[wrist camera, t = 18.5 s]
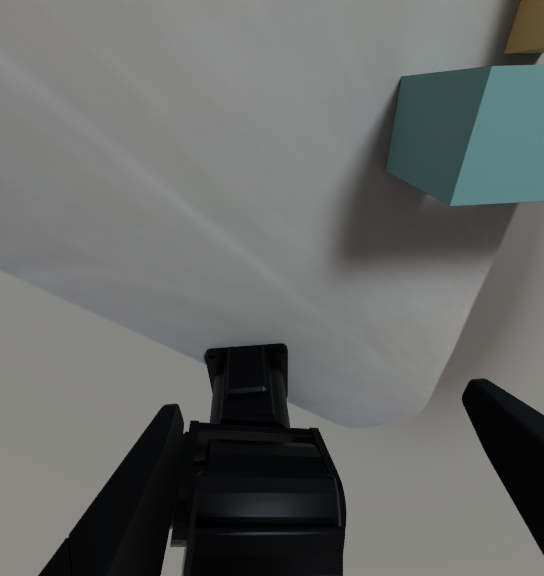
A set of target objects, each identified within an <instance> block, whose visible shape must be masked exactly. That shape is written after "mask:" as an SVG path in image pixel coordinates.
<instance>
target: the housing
mask: <svg viewBox="0 0 544 576" xmlns="http://www.w3.org/2000/svg"><path fill="white" fill-rule="evenodd" d="M386 172H388V173H390V174H392V175H393V176H395V177H397V178H399V179H401V180H403V181H405V182H406V183H408V184H410V185H412V186H414V187H416V188H418V189H419V190H421V191H423V192H425V193H427V194H429V195H430V196H432V197H434V198H436V199H438V200H440V201H442V202H443V203H445V204H447V205H449V206H460V205H479V204H499V203H518V202H537V201H544V65H511V66H488V67H479V68H471V69H462V70H453V71H445V72H436V73H427V74H419V75H410V76H402V78H401V84H400V90H399V95H398V101H397V107H396V113H395V119H394V125H393V130H392V136H391V142H390V148H389V154H388V159H387V165H386Z"/></svg>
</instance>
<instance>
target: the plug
mask: <svg viewBox="0 0 544 576" xmlns="http://www.w3.org/2000/svg"><path fill="white" fill-rule="evenodd" d="M521 53H544V0H521V1H520V4H519V8H518V11H517V14H516V17H515V20H514V24H513V27H512V30H511V33H510V36H509V40H508V43H507V46H506V49H505V52H504V54H521Z"/></svg>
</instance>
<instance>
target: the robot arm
mask: <svg viewBox="0 0 544 576" xmlns="http://www.w3.org/2000/svg"><path fill="white" fill-rule="evenodd" d="M281 349H283V350H281ZM212 355H213V356H212ZM205 359H206V364H207V368H208V373H209V378H210V383H211V388H212V393H213V398H212V408H211V416H210V423H200V422H199V421H191V422H190V428H189V432H185V434H183V429H184V421H183V417H182V414H181V411H180V408H179V405H178V404H167V405H164V406H163V407H162V408H161V409H160V410H159V412H158V413H157V415H156V416H155V417H154V419H153V420H152V421H151V423H150V424H149V426H148V427H147V429H146V430H145V431H144V433H143V434H142V435H141V437H140V438H139V439H138V441H137V442H136V443H135V445H134V446H133V448H132V449H131V450H130V452H129V453H128V454H127V456H126V457H125V458H124V460H123V461H122V463H121V464H120V465H119V467H118V468H117V469H116V471H115V472H114V474H113V475H112V476H111V478H110V479H109V480H108V482H107V483H106V484H105V486H104V487H103V489H102V490H101V491H100V493H99V494H98V495H97V497H96V498H95V500H94V501H93V502H92V504H91V505H90V506H89V508H88V509H87V510H86V512H85V513H84V515H83V516H82V517H81V519H80V520H79V521H78V523H77V524H76V526H75V527H74V528H73V530H72V531H71V532H70V534H69V538H66V539H65V540H64V542H63V543H62V544H61V546H60V547H59V549H58V550H57V551H56V553H55V554H54V555H53V557H52V558H51V559H50V561H49V562H48V563H47V565H46V566H45V567H44V569H43V570H42V571H41V573H40V574H39V575H38V576H160V575H161V570H162V565H163V560H164V555H165V550H166V544H167V539H168V535H169V529H173V530H172V538H171V545H170V546H171V547H185V549H184V557H183V564H182V575H181V576H343V549H344V540H345V527H346V503H345V496H344V491H343V486H342V483H341V480H340V478H339V475H338V472H337V470H336V468H335V466H334V463H333V461H332V459H331V457H330V454H329V452H328V450H327V448H326V445H325V443H324V441H323V439H322V436H321V434H320V432H319V430H318V428H309V429H301V428H290V423H289V416H288V409H287V401H286V398H287V396H288V350H287V346H286V345H285V344H267V345H254V346H240V347H227V348H213V349H208V350H207V351H206V355H205ZM462 401H463V405H464V407H465V409H466V411H467V414H468V416H469V418H470V420H471V422H472V425H473V427H474V429H475V431H476V433H477V436H478V438H479V440H480V442H481V444H482V446H483V448H484V451H485V453H486V454H487V456H488V458H489V460H490V462H491V464H492V465H493V467H494V469H495V471H496V472H497V474H498V476H499V477H500V479H501V481H502V483H503V485H504V486H505V488H506V490H507V492H508V493H509V495H510V497H511V499H512V500H513V502H514V504H515V506H516V507H517V509H518V511H519V513H520V514H521V516H522V518H523V519H524V521H525V523H526V525H527V527H528V528H529V530H530V532H531V534H532V536H533V537H534V539H535V541H536V543H537V544H538V546H539V548H540V550H541V551H542V553H543V555H544V415H543V414H541V413H540V412H538V411H536V410H535V409H533V408H532V407H530V406H528V405H527V404H525V403H524V402H522V401H520V400H519V399H517V398H516V397H514V396H513V395H511V394H509V393H508V392H506V391H505V390H503V389H501V388H500V387H498V386H497V385H495V384H493V383H492V382H490V381H488V380H487V379H483V378H481V379H472V380H470V381H469V383H468V385H467V387H466V389H465V391H464V393H463V395H462Z"/></svg>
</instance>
